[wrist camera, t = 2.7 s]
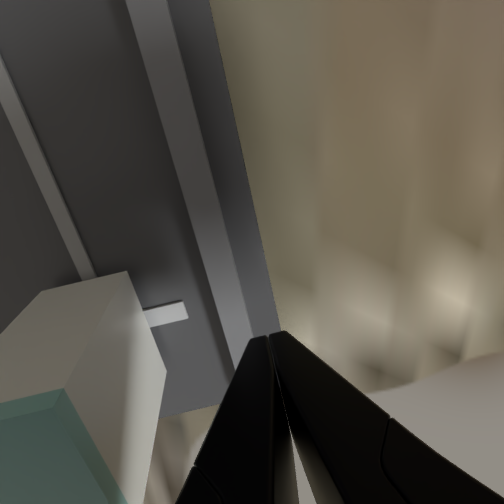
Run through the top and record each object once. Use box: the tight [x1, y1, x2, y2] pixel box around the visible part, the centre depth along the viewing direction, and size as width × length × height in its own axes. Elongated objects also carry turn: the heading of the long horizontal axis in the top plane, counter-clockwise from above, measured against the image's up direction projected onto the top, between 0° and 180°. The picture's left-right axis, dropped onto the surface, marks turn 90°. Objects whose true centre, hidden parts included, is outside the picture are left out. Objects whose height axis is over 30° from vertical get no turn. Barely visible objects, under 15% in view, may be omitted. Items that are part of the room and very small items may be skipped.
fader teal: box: [0, 271, 167, 504], centre depth 8 cm, size 2×4×5 cm, turn 12°
